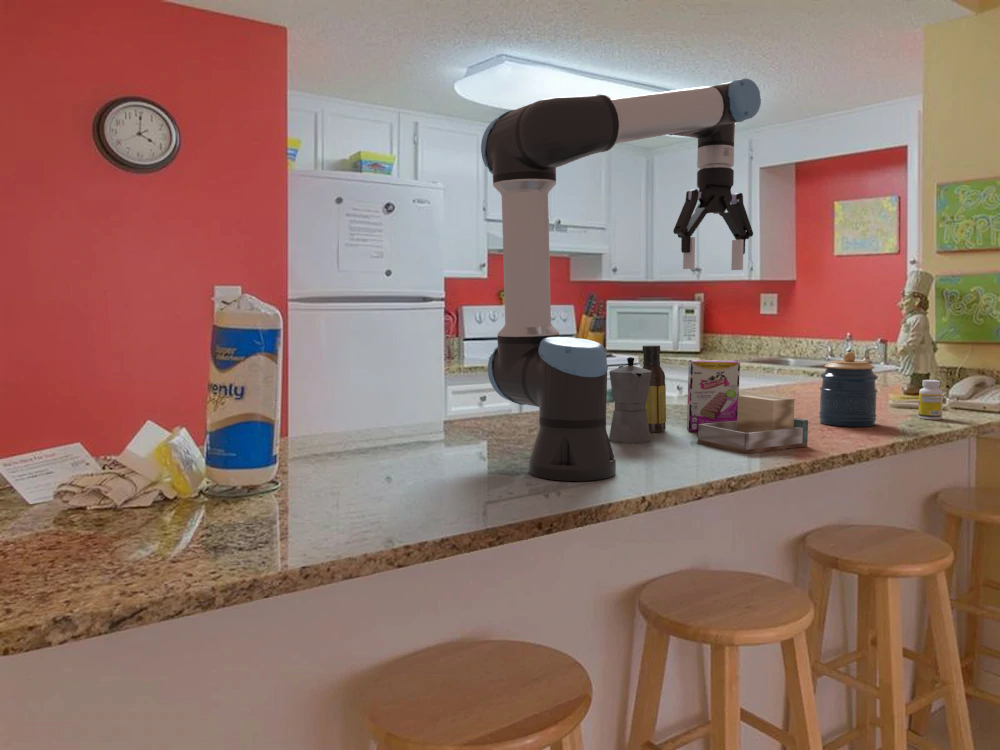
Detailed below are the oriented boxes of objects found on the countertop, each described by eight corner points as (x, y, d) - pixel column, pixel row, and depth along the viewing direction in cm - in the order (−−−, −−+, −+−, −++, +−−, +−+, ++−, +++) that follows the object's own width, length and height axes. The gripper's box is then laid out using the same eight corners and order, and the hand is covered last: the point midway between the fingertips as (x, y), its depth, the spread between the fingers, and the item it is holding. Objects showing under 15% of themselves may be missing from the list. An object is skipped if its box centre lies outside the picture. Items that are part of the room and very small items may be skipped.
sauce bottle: (659, 428, 194) (661, 344, 192) (670, 432, 188) (671, 345, 186) (634, 429, 193) (635, 344, 191) (643, 433, 186) (644, 345, 185)
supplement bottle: (923, 416, 213) (925, 379, 212) (945, 418, 209) (947, 380, 208) (914, 418, 210) (916, 380, 209) (936, 420, 205) (938, 381, 204)
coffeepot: (660, 444, 171) (662, 359, 170) (616, 445, 170) (617, 359, 169) (638, 433, 187) (639, 354, 185) (598, 434, 185) (598, 354, 184)
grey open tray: (746, 453, 161) (746, 426, 161) (697, 442, 173) (698, 417, 173) (807, 446, 169) (808, 420, 168) (756, 436, 181) (757, 412, 181)
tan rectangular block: (772, 444, 167) (773, 400, 166) (736, 437, 176) (737, 395, 175) (793, 441, 170) (794, 398, 169) (757, 435, 178) (758, 394, 178)
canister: (808, 420, 206) (810, 350, 204) (854, 419, 208) (857, 350, 207) (838, 428, 193) (841, 354, 191) (887, 426, 195) (890, 353, 194)
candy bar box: (688, 432, 188) (690, 361, 186) (686, 429, 193) (687, 359, 191) (738, 433, 186) (740, 361, 185) (734, 429, 191) (736, 359, 190)
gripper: (681, 161, 165) (679, 267, 166) (771, 170, 176) (769, 269, 178) (657, 166, 171) (656, 269, 173) (746, 175, 183) (743, 270, 185)
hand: (713, 269), depth 176 cm, fingers open, 13 cm apart
